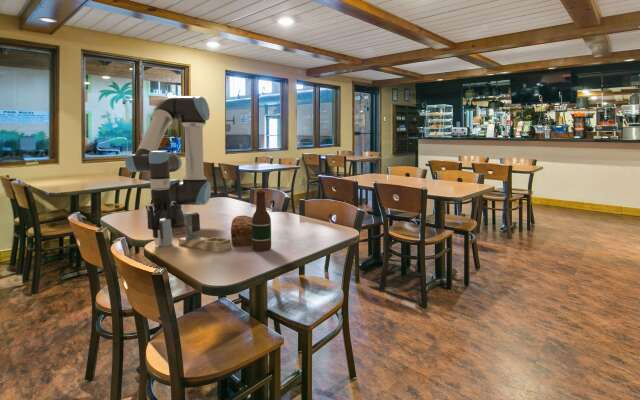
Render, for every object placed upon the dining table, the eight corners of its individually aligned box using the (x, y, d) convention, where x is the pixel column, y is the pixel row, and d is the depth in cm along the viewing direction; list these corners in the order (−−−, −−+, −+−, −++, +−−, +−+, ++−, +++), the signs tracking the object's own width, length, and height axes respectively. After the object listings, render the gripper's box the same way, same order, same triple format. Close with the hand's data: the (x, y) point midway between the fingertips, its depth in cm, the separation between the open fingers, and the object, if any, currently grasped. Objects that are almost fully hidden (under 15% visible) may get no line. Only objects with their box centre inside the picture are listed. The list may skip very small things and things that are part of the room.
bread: (233, 235, 185) (232, 214, 184) (256, 235, 187) (256, 214, 185) (230, 247, 167) (229, 223, 165) (256, 246, 169) (255, 222, 167)
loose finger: (165, 243, 172) (164, 218, 170) (171, 244, 170) (170, 219, 168) (156, 245, 168) (154, 220, 166) (162, 247, 166) (160, 221, 164)
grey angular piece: (178, 244, 170) (177, 213, 168) (191, 240, 176) (190, 210, 173) (219, 252, 158) (217, 219, 156) (231, 248, 164) (230, 216, 162)
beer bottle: (261, 245, 169) (260, 189, 165) (275, 248, 164) (274, 190, 160) (248, 249, 162) (246, 191, 158) (262, 253, 158) (261, 193, 154)
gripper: (147, 192, 155) (151, 250, 159) (184, 186, 171) (187, 239, 174) (134, 190, 159) (138, 247, 162) (172, 185, 174) (175, 237, 178)
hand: (163, 243), depth 168 cm, fingers open, 5 cm apart
